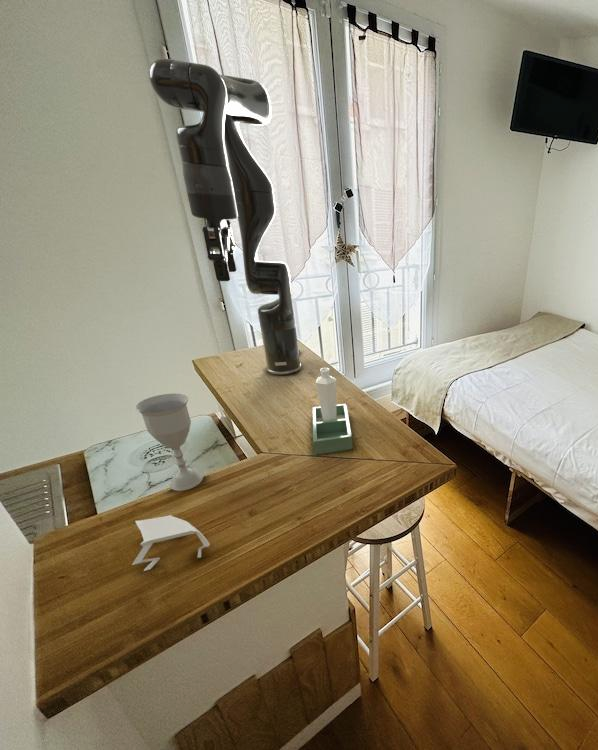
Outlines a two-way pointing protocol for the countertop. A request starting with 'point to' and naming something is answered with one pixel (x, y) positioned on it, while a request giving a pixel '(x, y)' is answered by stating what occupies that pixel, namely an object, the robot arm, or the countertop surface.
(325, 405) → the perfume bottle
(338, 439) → the holder
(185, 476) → the chalice
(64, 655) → the countertop surface
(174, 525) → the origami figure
